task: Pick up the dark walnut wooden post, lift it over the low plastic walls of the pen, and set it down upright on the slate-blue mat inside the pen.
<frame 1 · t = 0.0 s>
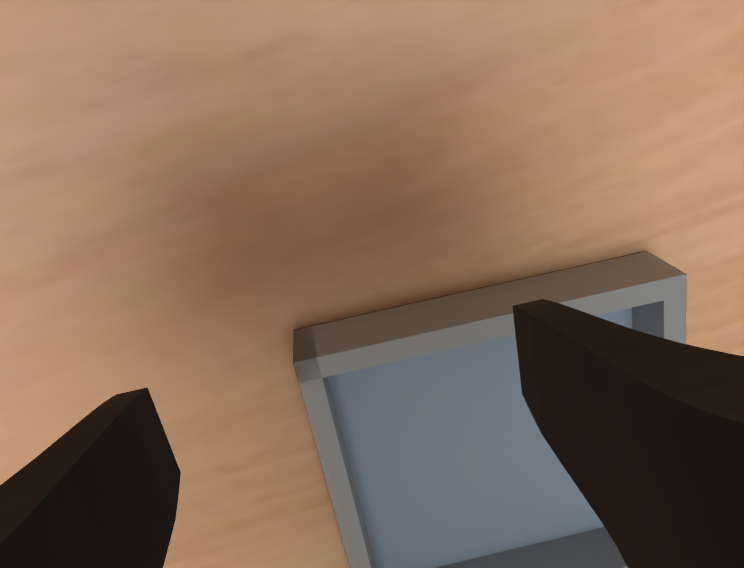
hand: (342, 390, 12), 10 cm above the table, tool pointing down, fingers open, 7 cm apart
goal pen: (492, 437, 25), on the table
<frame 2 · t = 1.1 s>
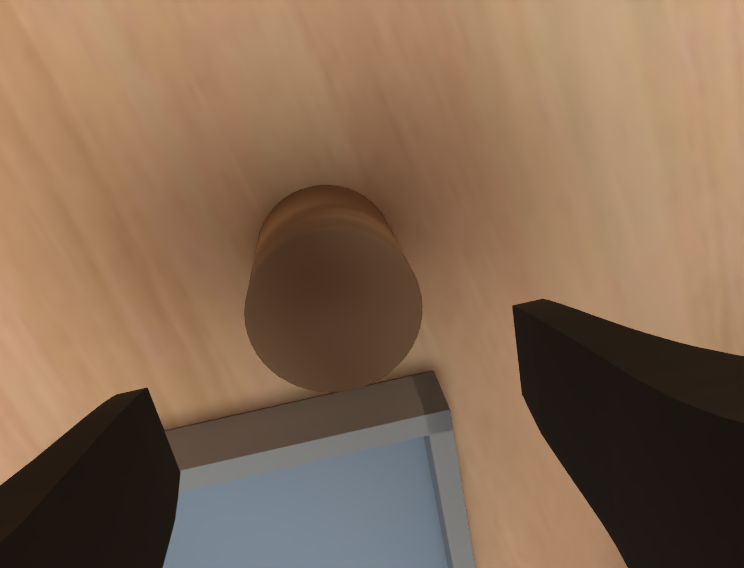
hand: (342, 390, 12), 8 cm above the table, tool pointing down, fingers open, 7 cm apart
walnut post: (326, 252, 19), on the table
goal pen: (291, 554, 24), on the table
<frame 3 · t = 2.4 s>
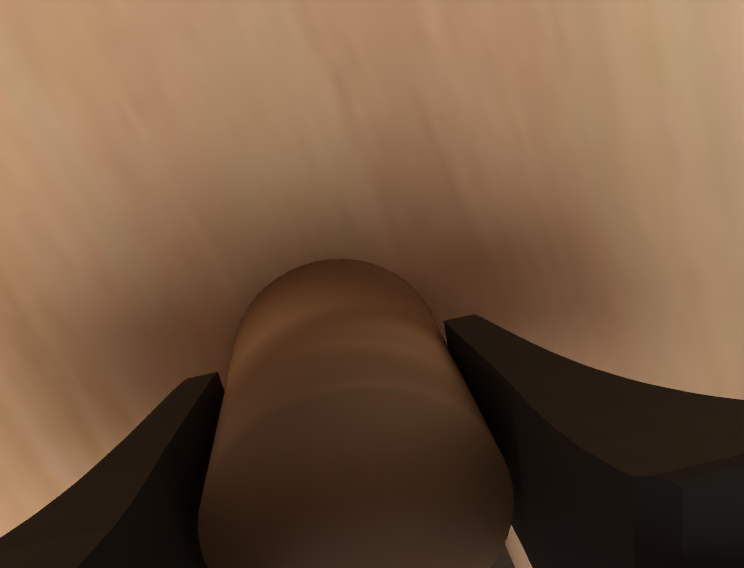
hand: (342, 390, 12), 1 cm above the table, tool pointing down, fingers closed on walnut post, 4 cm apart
walnut post: (338, 355, 13), on the table, touching gripper
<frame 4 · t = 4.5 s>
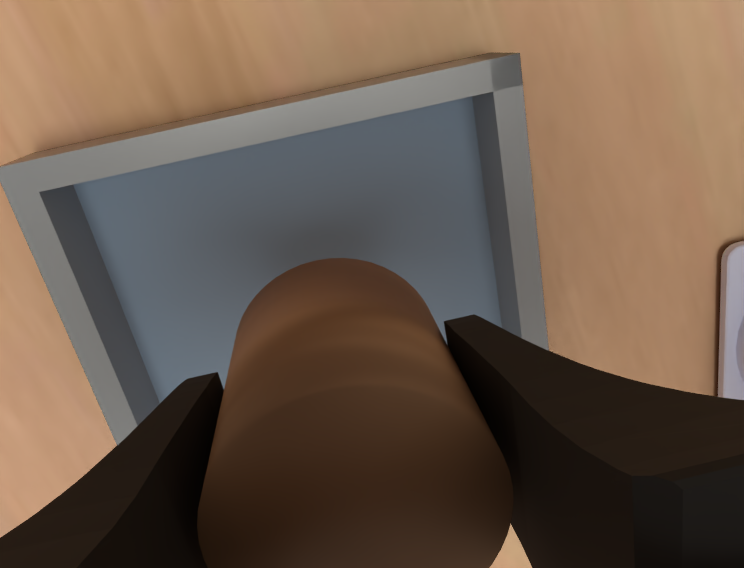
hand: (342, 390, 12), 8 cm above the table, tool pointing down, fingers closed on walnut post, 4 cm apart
walnut post: (337, 354, 13), point 7 cm above the table, touching gripper
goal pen: (319, 308, 20), on the table
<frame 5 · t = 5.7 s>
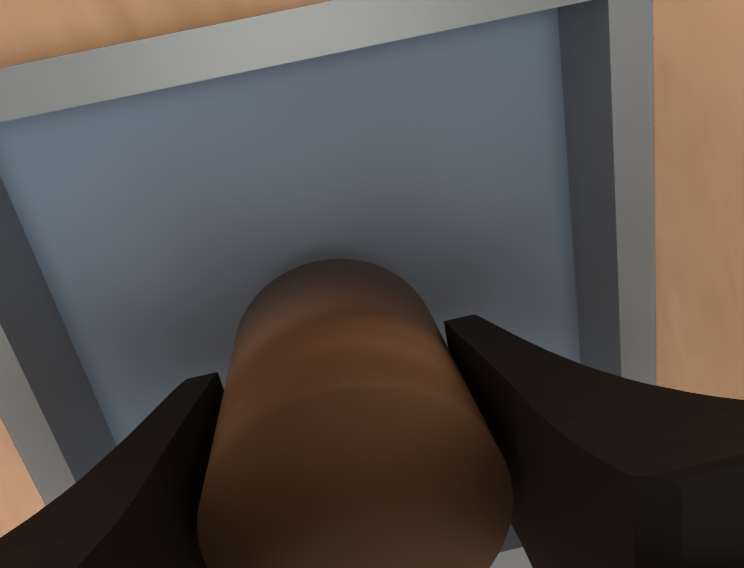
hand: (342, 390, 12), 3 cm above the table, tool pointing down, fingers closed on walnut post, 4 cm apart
walnut post: (337, 354, 13), point 2 cm above the table, touching gripper
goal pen: (334, 319, 15), on the table
when the fingers open (3 cm above the table, at t = 6.6 s): walnut post drops 1 cm, resting on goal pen.
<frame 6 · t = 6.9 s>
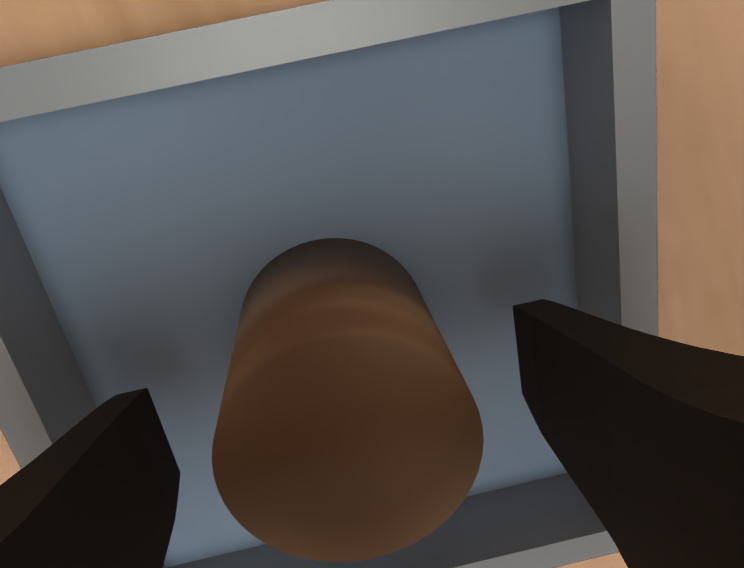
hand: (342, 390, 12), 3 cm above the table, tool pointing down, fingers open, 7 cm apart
walnut post: (333, 326, 14), resting on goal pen
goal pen: (333, 321, 15), on the table
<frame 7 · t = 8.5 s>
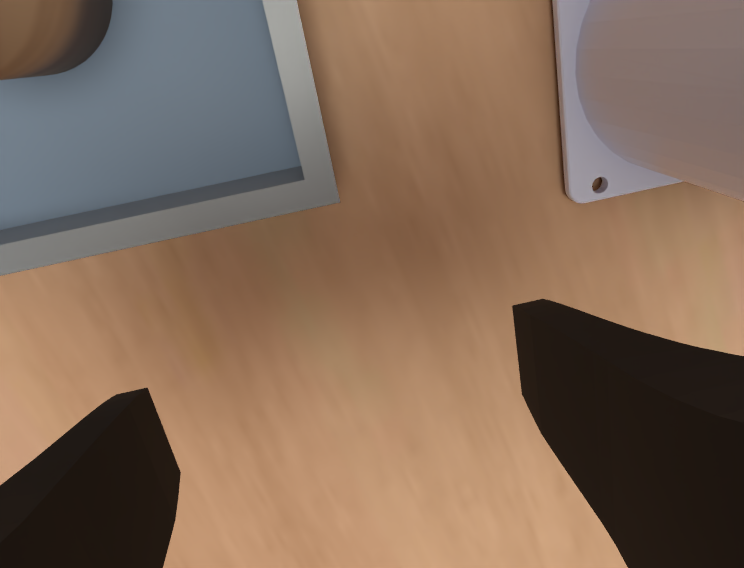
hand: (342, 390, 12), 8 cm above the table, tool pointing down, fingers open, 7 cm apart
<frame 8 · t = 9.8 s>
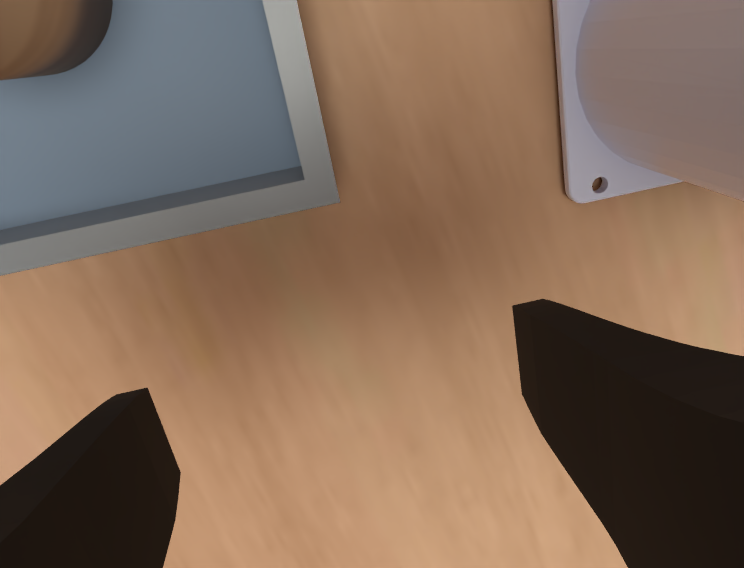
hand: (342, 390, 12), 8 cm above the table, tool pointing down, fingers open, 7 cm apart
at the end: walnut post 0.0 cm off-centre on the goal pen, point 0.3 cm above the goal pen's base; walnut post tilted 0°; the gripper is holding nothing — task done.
